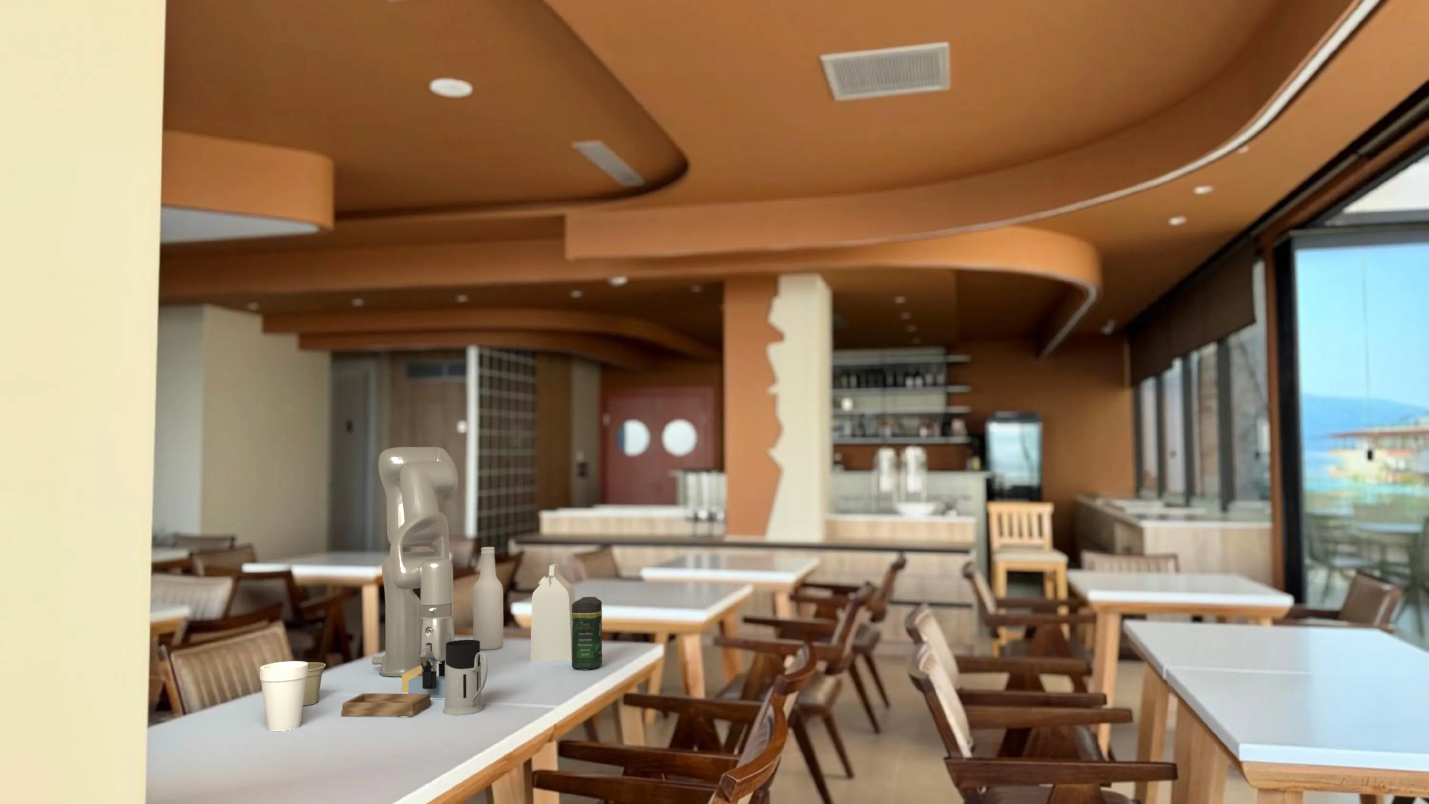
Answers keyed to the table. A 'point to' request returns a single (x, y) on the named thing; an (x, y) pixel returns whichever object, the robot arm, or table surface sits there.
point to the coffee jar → (587, 633)
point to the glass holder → (463, 677)
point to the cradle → (386, 704)
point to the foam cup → (283, 693)
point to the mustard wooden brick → (411, 676)
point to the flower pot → (313, 682)
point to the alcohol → (488, 604)
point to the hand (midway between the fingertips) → (437, 684)
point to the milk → (552, 618)
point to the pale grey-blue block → (416, 688)
